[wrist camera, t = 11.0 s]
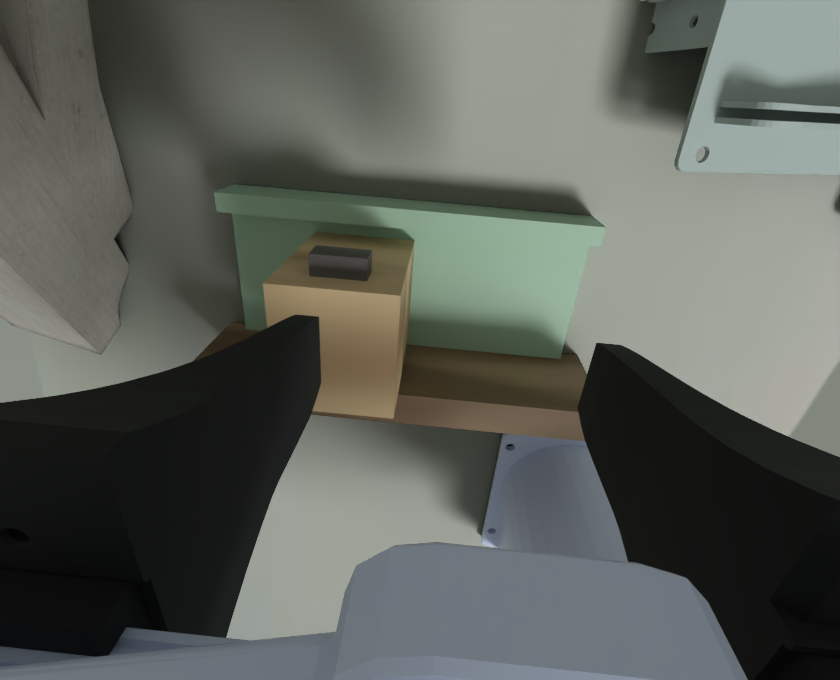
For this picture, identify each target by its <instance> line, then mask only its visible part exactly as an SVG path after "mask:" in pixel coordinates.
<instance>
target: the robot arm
mask: <svg viewBox="0 0 840 680" xmlns="http://www.w3.org/2000/svg"><path fill="white" fill-rule="evenodd" d="M320 385H321V359H320V329H319V317H317V316H307V315H293V316H290V317H288V318H286V319H284V320H282V321H280V322H278V323H276V324H274V325H272V326H270V327H268V328H266V329H264V330H262V331H260V332H258V333H256V334H254V335H252V336H250V337H248V338H246V339H244V340H242V341H240V342H238V343H236V344H233V345H231V346H229V347H227V348H224V349H222V350H220V351H218V352H216V353H213V354H211V355H209V356H206V357H204V358H201V359H199V360H196V361H193V362H191V363H188V364H185V365H182V366H179V367H176V368H173V369H170V370H167V371H164V372H160V373H157V374H153V375H149V376H146V377H142V378H138V379H135V380H131V381H127V382H123V383H119V384H115V385H110V386H106V387H101V388H96V389H91V390H86V391H80V392H75V393H69V394H64V395H57V396H51V397H44V398H36V399H28V400H20V401H13V402H5V403H0V680H840V457H837V456H835V455H832V454H829V453H827V452H825V451H822V450H819V449H817V448H814V447H812V446H810V445H807V444H805V443H802V442H800V441H797V440H795V439H792V438H790V437H788V436H785V435H783V434H781V433H779V432H776V431H774V430H772V429H770V428H768V427H766V426H764V425H761V424H759V423H757V422H755V421H753V420H751V419H749V418H747V417H745V416H743V415H741V414H739V413H737V412H735V411H733V410H731V409H729V408H727V407H725V406H724V405H722V404H720V403H718V402H717V401H715V400H713V399H711V398H709V397H708V396H706V395H704V394H702V393H701V392H699V391H697V390H696V389H694V388H692V387H691V386H689V385H687V384H686V383H684V382H682V381H681V380H679V379H677V378H676V377H674V376H673V375H671V374H669V373H668V372H666V371H665V370H663V369H662V368H660V367H658V366H657V365H655V364H654V363H652V362H650V361H649V360H647V359H645V358H644V357H642V356H640V355H639V354H637V353H635V352H634V351H632V350H630V349H628V348H626V347H624V346H621V345H614V344H603V343H596V347H595V350H594V353H593V357H592V360H591V363H590V367H589V370H588V374H587V377H586V380H585V384H584V387H583V390H582V394H581V397H580V401H579V404H578V407H577V408H578V413H579V418H580V423H581V427H582V431H583V435H584V439H585V441H576V440H566V439H556V438H546V437H535V436H525V435H515V434H505V433H503V435H502V439H501V444H500V449H499V454H498V459H497V463H496V468H495V473H494V478H493V483H492V488H491V492H490V497H489V502H488V507H487V512H486V517H485V521H484V526H483V531H482V536H481V537H482V543H483V544H484V545H486V546H491V547H497V548H489V547H479V546H470V545H460V544H450V543H440V542H432V543H419V544H405V545H395V546H393V547H390V548H389V549H387V550H385V551H383V552H381V553H379V554H377V555H375V556H374V557H372V558H370V559H368V560H366V561H364V562H362V563H361V564H359V565H357V566H356V568H355V570H354V573H353V575H352V577H351V579H350V581H349V584H348V586H347V588H346V590H345V594H344V598H343V603H342V608H341V612H340V617H339V621H338V626H337V631H336V632H329V633H319V634H309V635H300V636H290V637H280V638H271V639H261V640H252V641H249V640H240V639H231V638H226V636H227V632H228V629H229V625H230V622H231V619H232V615H233V612H234V609H235V606H236V602H237V599H238V596H239V593H240V590H241V586H242V583H243V580H244V577H245V574H246V570H247V567H248V564H249V561H250V558H251V555H252V552H253V549H254V547H255V544H256V541H257V538H258V535H259V532H260V529H261V526H262V523H263V520H264V518H265V515H266V512H267V509H268V506H269V504H270V501H271V498H272V495H273V493H274V491H275V488H276V486H277V484H278V481H279V479H280V477H281V475H282V473H283V471H284V469H285V467H286V465H287V463H288V461H289V459H290V457H291V455H292V453H293V451H294V449H295V447H296V445H297V443H298V441H299V439H300V437H301V434H302V432H303V430H304V428H305V426H306V424H307V422H308V420H309V418H310V416H311V413H312V411H313V408H314V405H315V402H316V399H317V395H318V392H319V389H320ZM508 444H513V445H512V446H506V445H508ZM490 528H493V529H490Z"/></svg>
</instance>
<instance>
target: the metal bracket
mask: <svg viewBox="0 0 840 680" xmlns="http://www.w3.org/2000/svg"><path fill="white" fill-rule="evenodd" d="M639 1H645V0H639ZM648 2H653V3H656V6H655V10H654V15H653V19H652V23H651V24H655V29H654V31H653V33H652V34H651V35H649V36H648V40H647V44H646V48H645V52H644V53H657V52H667V51H676V50H686V49H696V48H705V47H708V49H707V53H706V56H705V60H704V63H703V66H702V70H701V73H700V77H699V80H698V83H697V87H696V90H695V94H694V97H693V100H692V104H691V107H690V110H689V114H688V117H687V121H686V124H685V127H684V131H683V134H682V138H681V141H680V144H679V148H678V151H677V155H676V158H675V168H676V170H679V171H683V172H719V173H771V174H822V175H840V0H648ZM697 17H698V21H697V24H696V25H695V27H694V21H695V19H696V18H697ZM701 147H705V150H706V151H705V156H704V157H703V159H702V160H701V161H699V162H697V161H696V154H697V152H698V150H699V149H700V148H701Z"/></svg>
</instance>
